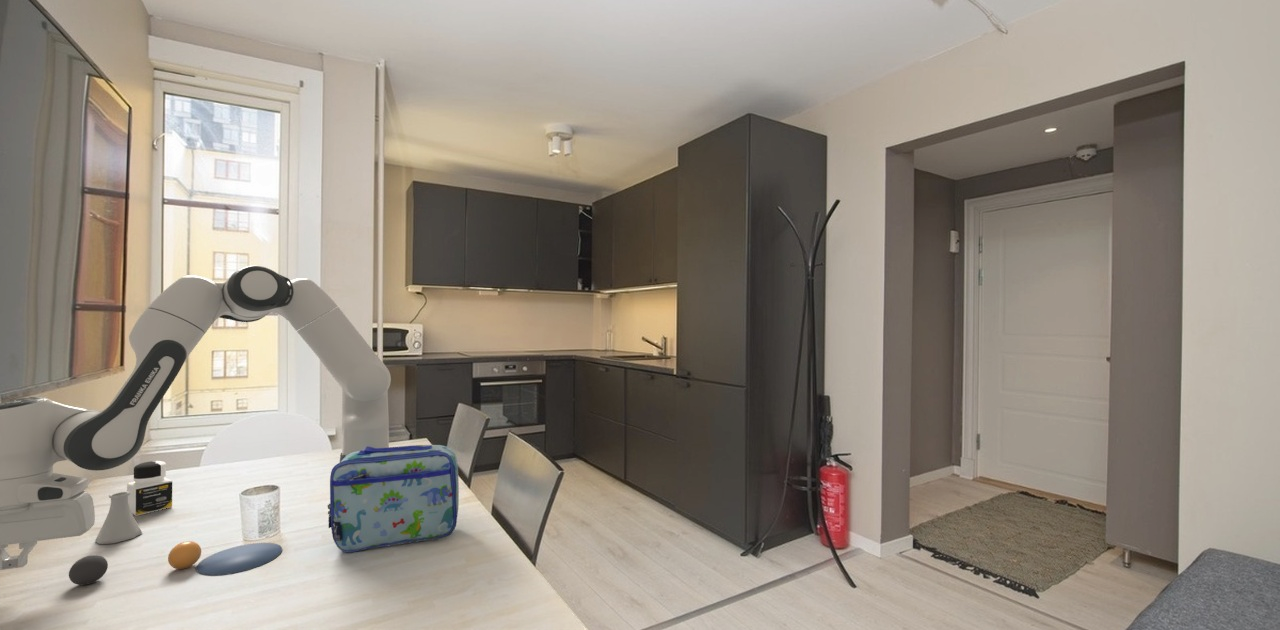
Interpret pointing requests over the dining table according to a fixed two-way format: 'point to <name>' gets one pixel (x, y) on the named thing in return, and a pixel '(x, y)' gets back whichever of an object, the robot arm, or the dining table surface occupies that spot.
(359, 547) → the lunch box
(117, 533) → the flask
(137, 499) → the medicine bottle
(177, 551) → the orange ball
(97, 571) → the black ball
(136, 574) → the dining table surface
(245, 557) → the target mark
